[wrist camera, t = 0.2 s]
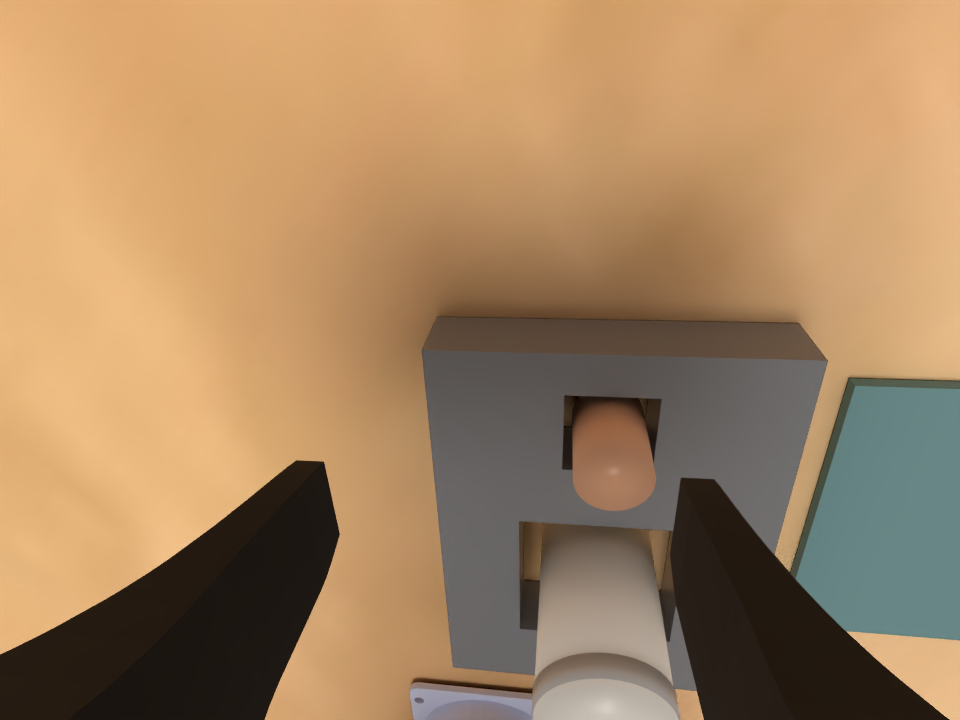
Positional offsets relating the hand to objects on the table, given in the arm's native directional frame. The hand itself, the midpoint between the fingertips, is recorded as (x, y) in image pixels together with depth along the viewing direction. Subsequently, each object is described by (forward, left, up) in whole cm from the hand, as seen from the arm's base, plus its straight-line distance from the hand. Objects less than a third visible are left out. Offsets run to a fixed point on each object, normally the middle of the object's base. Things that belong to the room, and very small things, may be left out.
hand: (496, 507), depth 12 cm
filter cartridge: (-10, -3, -10) cm, 14 cm away
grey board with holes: (-8, -3, -10) cm, 13 cm away
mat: (-8, -15, -10) cm, 20 cm away
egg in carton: (-3, -3, -8) cm, 9 cm away
